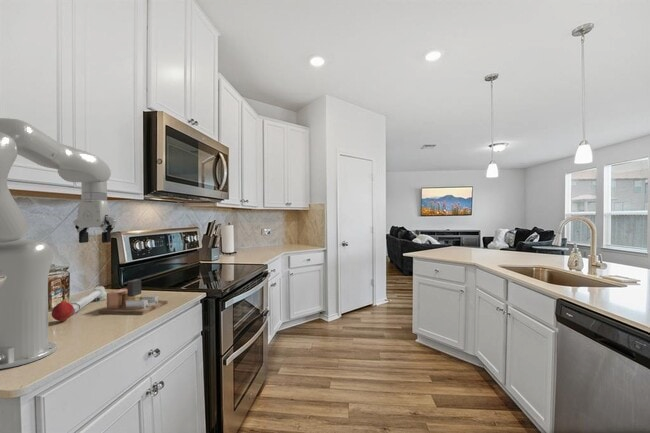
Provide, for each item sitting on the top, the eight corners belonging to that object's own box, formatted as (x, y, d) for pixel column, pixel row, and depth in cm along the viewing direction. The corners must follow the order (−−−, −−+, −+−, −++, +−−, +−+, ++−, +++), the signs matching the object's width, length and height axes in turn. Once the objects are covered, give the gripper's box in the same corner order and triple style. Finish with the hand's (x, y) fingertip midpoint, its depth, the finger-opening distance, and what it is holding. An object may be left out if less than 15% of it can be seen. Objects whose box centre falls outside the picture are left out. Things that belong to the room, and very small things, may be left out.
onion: (54, 326, 95) (54, 303, 95) (49, 323, 98) (49, 300, 98) (76, 320, 100) (76, 298, 100) (70, 317, 103) (70, 296, 103)
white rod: (59, 307, 105) (96, 283, 129) (61, 323, 105) (97, 297, 129) (75, 306, 106) (109, 282, 130) (77, 322, 107) (110, 296, 131)
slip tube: (133, 303, 111) (133, 281, 111) (113, 303, 112) (113, 281, 112) (142, 300, 116) (141, 279, 116) (122, 300, 117) (122, 279, 117)
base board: (142, 314, 106) (142, 311, 106) (98, 313, 108) (98, 310, 108) (167, 303, 119) (167, 300, 119) (128, 302, 122) (128, 299, 122)
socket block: (118, 308, 110) (117, 293, 110) (106, 307, 111) (106, 293, 111) (133, 302, 118) (133, 288, 118) (123, 301, 118) (123, 288, 118)
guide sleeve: (144, 308, 109) (143, 301, 109) (125, 308, 110) (125, 300, 110) (158, 302, 117) (158, 295, 117) (141, 302, 117) (140, 295, 118)
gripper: (64, 197, 102) (64, 243, 102) (105, 196, 100) (106, 243, 100) (84, 199, 110) (84, 241, 109) (123, 198, 108) (123, 241, 107)
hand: (95, 242), depth 105 cm, fingers open, 9 cm apart
